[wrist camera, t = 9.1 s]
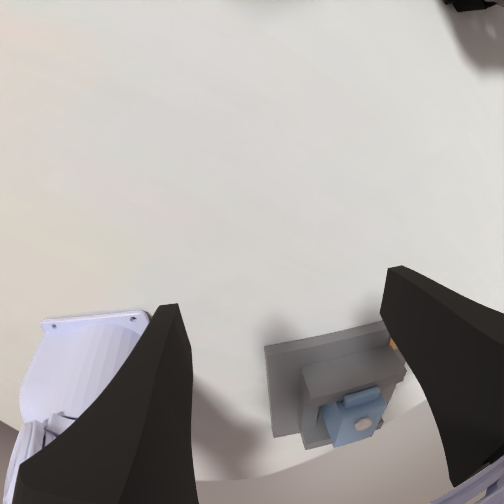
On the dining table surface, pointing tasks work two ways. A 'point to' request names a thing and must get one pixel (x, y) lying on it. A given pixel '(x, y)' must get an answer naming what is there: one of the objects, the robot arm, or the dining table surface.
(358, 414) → the block
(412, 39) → the dining table surface
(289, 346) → the board
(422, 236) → the dining table surface
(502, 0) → the cpu cooler
